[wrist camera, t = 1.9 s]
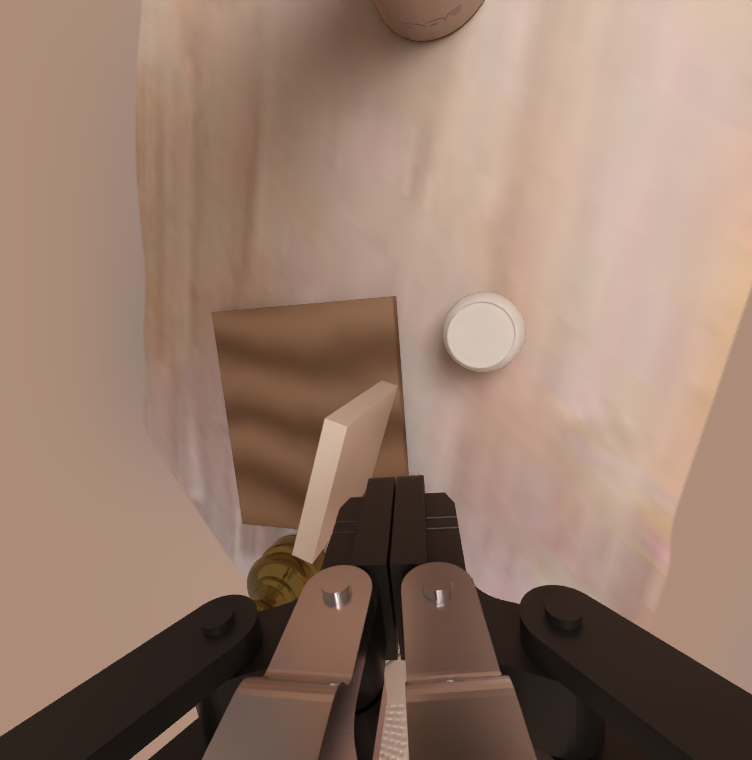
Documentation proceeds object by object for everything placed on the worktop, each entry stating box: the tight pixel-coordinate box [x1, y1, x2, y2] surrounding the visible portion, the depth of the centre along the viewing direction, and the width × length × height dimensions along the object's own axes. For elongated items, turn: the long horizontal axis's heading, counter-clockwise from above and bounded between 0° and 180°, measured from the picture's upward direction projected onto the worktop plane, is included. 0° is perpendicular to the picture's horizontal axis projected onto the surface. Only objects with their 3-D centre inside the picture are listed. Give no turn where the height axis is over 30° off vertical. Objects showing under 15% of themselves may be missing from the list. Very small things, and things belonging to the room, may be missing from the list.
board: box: [212, 296, 409, 529], centre depth 40 cm, size 22×18×1 cm
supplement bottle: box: [443, 292, 526, 372], centre depth 30 cm, size 5×5×10 cm
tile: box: [292, 381, 398, 564], centre depth 32 cm, size 10×2×12 cm, turn 165°
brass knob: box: [247, 535, 325, 612], centre depth 40 cm, size 7×7×10 cm
